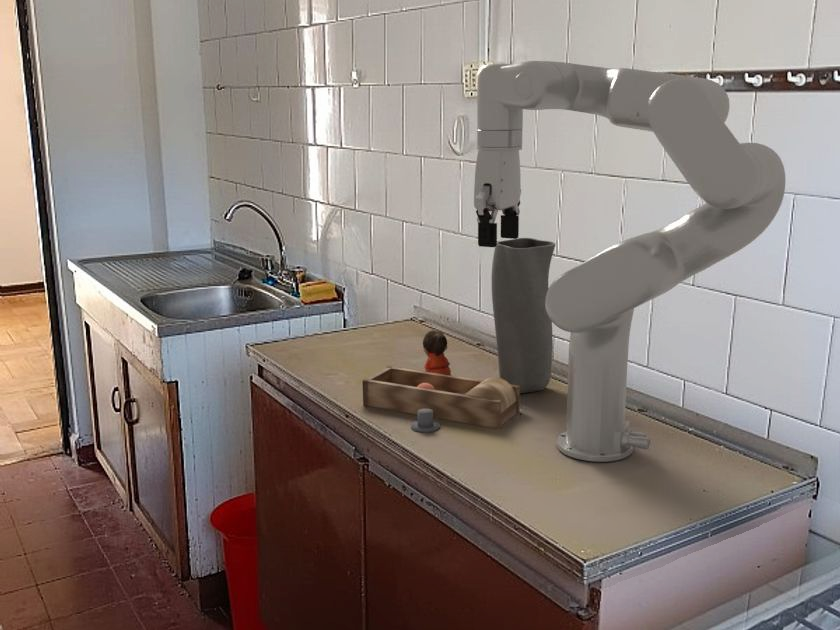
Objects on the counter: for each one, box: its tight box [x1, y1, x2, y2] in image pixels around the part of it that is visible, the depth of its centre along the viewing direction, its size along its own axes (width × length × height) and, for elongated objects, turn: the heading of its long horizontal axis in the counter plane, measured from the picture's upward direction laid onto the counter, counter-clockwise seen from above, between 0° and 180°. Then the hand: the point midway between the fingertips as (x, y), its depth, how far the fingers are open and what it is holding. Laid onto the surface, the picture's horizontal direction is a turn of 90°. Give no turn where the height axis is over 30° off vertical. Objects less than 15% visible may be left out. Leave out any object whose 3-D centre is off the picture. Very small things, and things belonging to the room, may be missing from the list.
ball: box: [417, 383, 435, 390], centre depth 166 cm, size 4×4×4 cm
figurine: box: [422, 329, 452, 376], centre depth 176 cm, size 6×6×12 cm
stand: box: [410, 409, 441, 433], centre depth 155 cm, size 5×5×3 cm
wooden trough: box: [362, 365, 521, 429], centre depth 164 cm, size 28×10×8 cm, turn 62°
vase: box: [491, 237, 556, 395], centre depth 171 cm, size 12×12×30 cm
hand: (498, 242), depth 148 cm, fingers open, 9 cm apart
